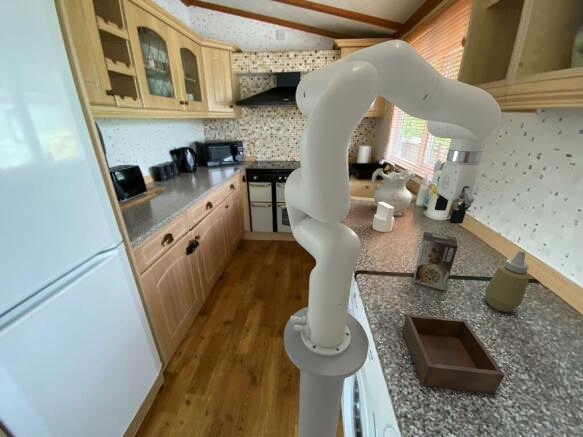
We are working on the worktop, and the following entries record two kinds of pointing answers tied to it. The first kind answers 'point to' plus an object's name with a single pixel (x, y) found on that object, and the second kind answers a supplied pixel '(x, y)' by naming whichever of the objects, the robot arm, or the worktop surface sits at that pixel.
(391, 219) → the base with upright slab
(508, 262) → the squeeze bottle
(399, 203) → the ceramic pitcher
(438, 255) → the coffee box
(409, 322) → the tray
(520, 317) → the worktop surface
